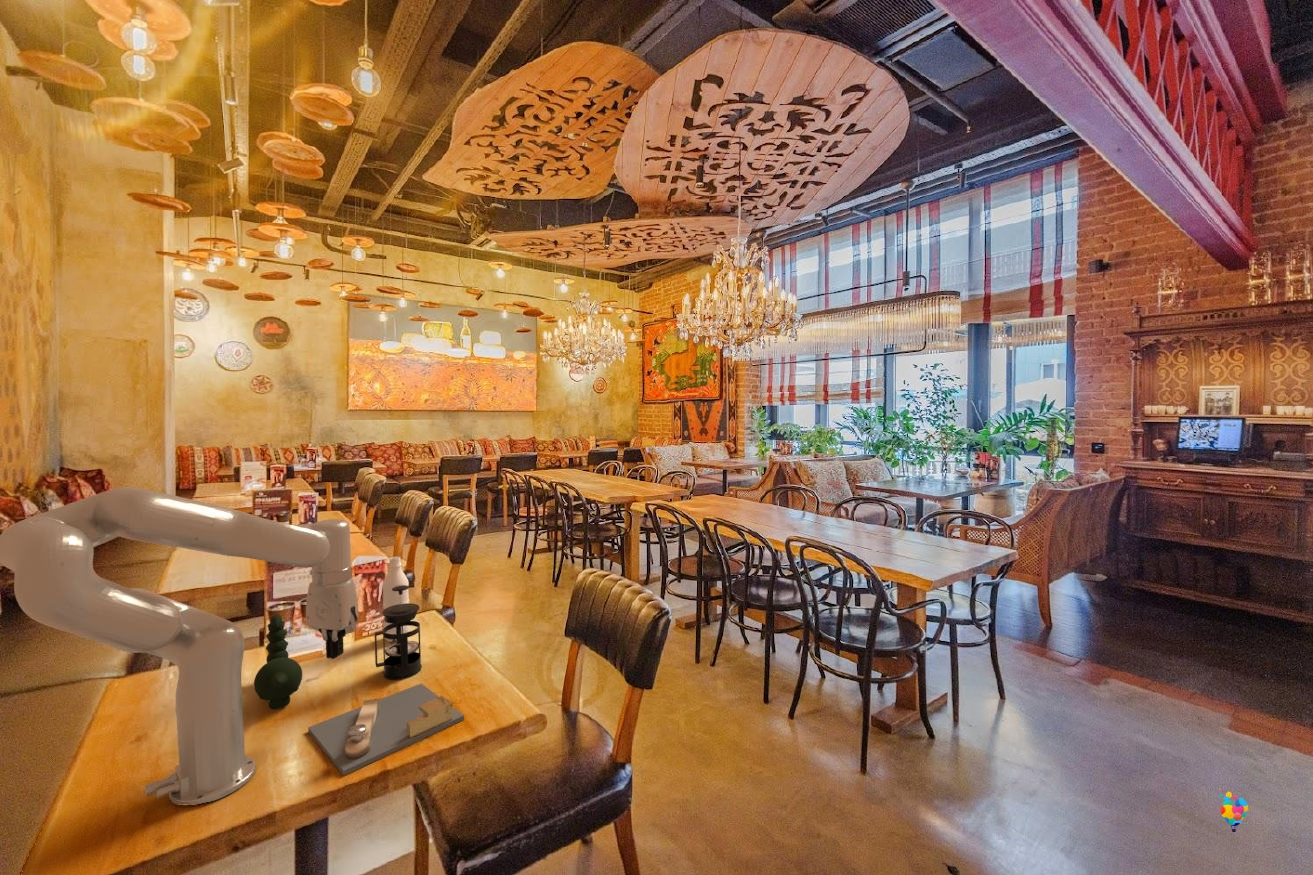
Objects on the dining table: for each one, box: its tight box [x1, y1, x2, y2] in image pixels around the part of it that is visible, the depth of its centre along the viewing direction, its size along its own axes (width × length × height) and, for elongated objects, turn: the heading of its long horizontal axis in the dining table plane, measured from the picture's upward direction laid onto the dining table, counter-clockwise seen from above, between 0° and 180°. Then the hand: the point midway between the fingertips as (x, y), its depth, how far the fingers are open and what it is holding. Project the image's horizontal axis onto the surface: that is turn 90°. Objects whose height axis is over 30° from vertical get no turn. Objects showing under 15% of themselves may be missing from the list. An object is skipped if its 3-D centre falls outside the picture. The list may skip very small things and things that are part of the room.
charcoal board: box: [307, 683, 465, 777], centre depth 121 cm, size 25×21×1 cm
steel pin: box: [348, 724, 366, 743], centre depth 110 cm, size 3×3×2 cm
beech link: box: [345, 697, 380, 758], centre depth 117 cm, size 18×4×2 cm, turn 18°
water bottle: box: [382, 556, 411, 643], centre depth 164 cm, size 7×7×25 cm
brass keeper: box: [407, 695, 453, 739], centre depth 120 cm, size 10×4×4 cm, turn 138°
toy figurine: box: [253, 614, 303, 710], centre depth 133 cm, size 9×19×25 cm
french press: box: [374, 585, 423, 681], centre depth 145 cm, size 12×9×23 cm
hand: (335, 655), depth 122 cm, fingers closed
